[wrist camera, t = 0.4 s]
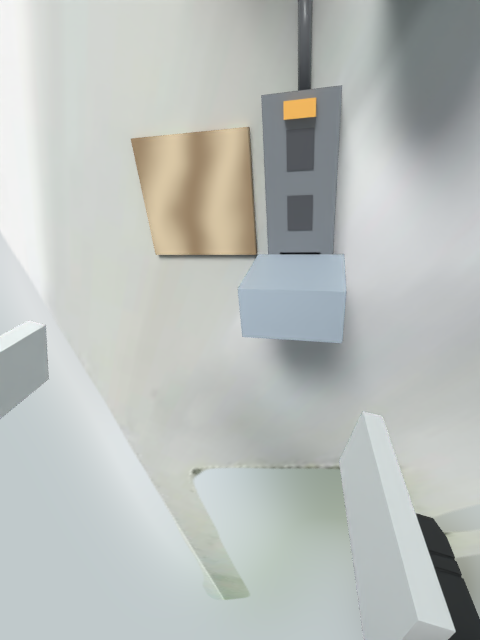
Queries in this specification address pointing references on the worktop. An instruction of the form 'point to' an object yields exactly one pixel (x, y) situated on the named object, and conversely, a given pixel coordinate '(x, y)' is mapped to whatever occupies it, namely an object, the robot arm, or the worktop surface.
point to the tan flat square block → (198, 192)
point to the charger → (294, 297)
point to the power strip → (301, 157)
